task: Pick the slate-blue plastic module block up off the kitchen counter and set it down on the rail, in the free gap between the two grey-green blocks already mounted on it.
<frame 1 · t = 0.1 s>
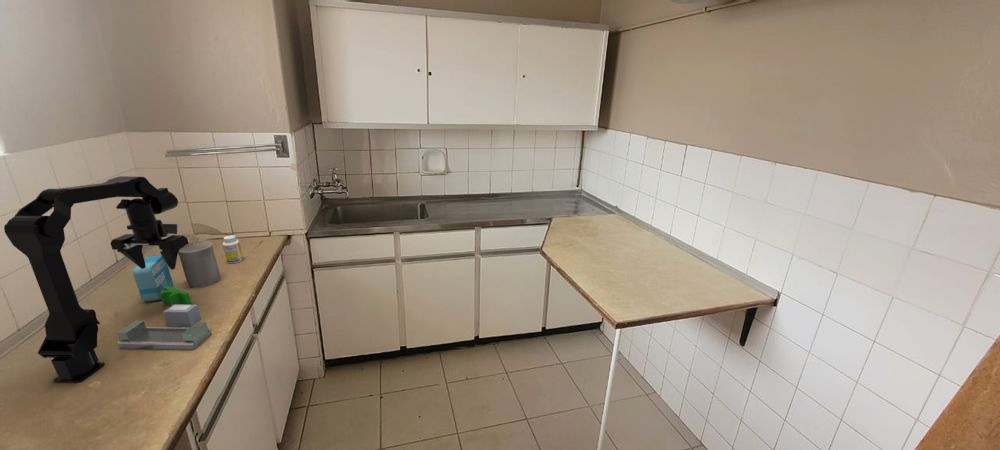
hand: (158, 268, 119), 15 cm above the kitchen counter, tool pointing down, fingers open, 9 cm apart
module: (184, 322, 118), on the kitchen counter
rail: (167, 341, 109), on the kitchen counter
pillar candle: (204, 281, 142), on the kitchen counter
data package: (159, 294, 133), on the kitchen counter
supplement bottle: (235, 261, 158), on the kitchen counter
pipe clamp: (175, 304, 128), on the kitchen counter
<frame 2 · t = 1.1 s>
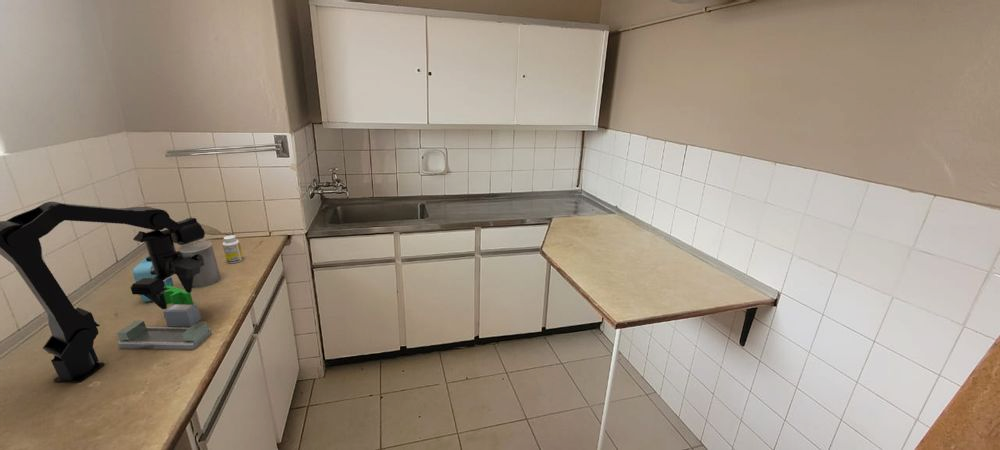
hand: (177, 300, 115), 8 cm above the kitchen counter, tool pointing down, fingers open, 9 cm apart
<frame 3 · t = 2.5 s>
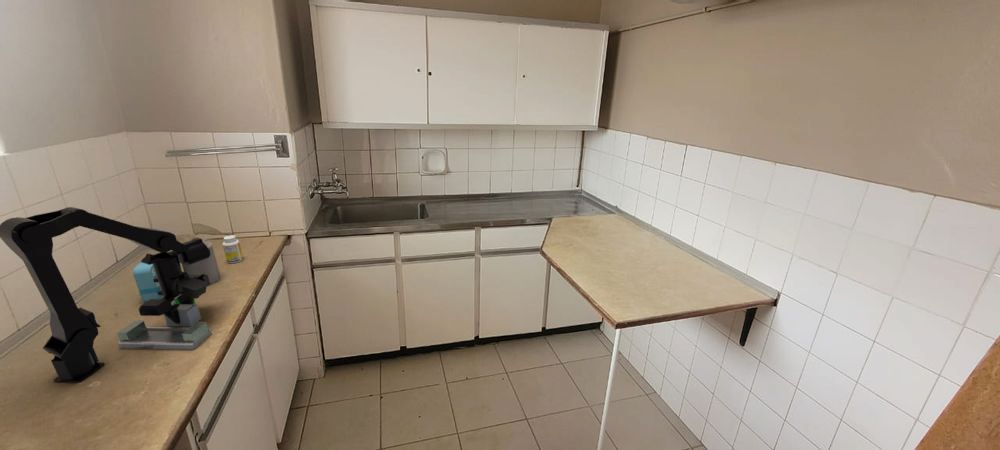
hand: (183, 319, 118), 1 cm above the kitchen counter, tool pointing down, fingers closed on module, 4 cm apart
module: (184, 322, 118), on the kitchen counter, touching gripper
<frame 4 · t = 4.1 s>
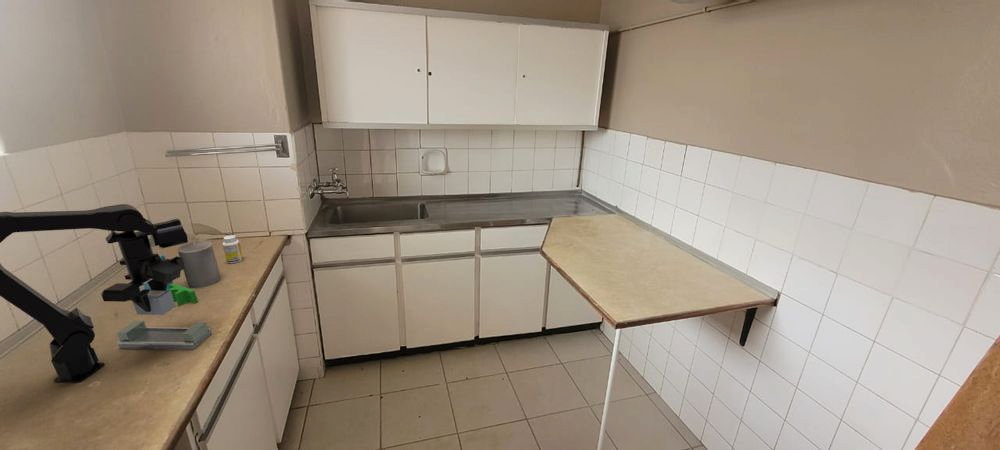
hand: (155, 307, 106), 11 cm above the kitchen counter, tool pointing down, fingers closed on module, 4 cm apart
module: (156, 310, 106), point 10 cm above the kitchen counter, touching gripper
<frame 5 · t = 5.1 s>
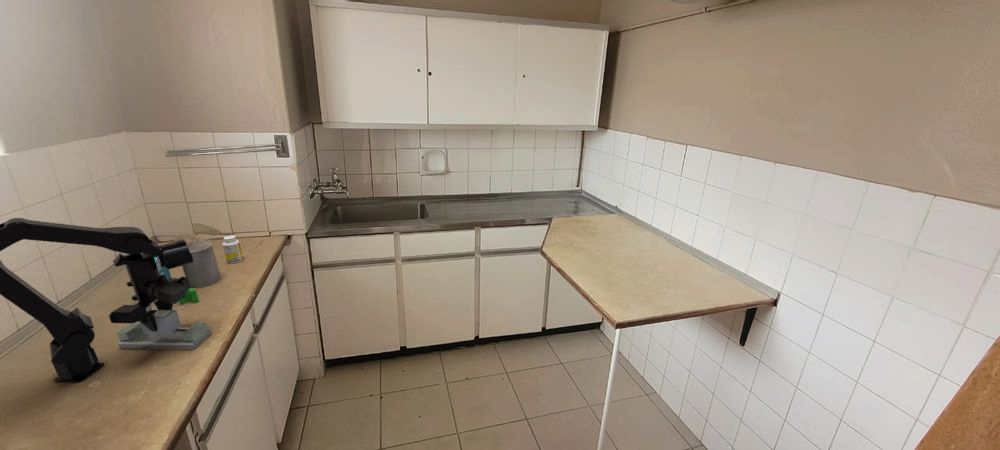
hand: (161, 326, 108), 5 cm above the kitchen counter, tool pointing down, fingers closed on module, 4 cm apart
module: (162, 329, 108), point 4 cm above the kitchen counter, touching gripper
when the fingers open (3 cm above the kitchen counter, at t = 5.7 s): module stays where it is, resting on rail.
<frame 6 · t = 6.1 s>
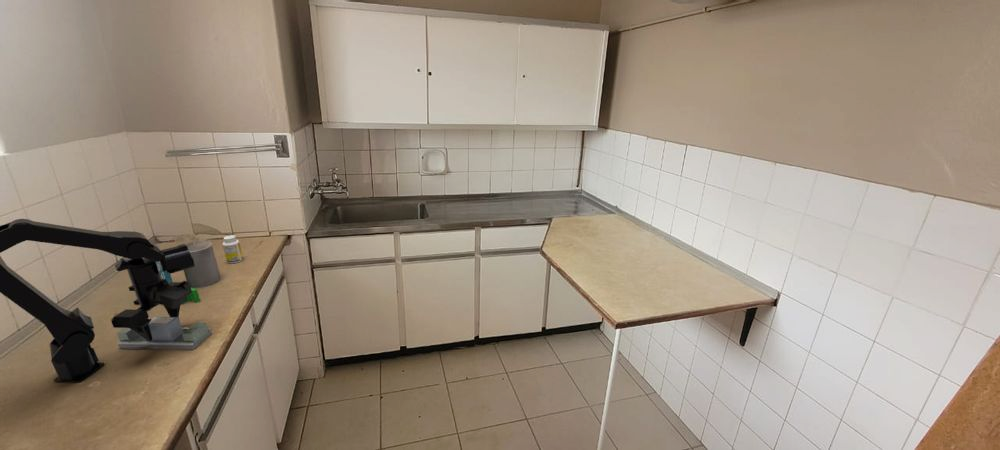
hand: (163, 330, 108), 3 cm above the kitchen counter, tool pointing down, fingers open, 8 cm apart
module: (165, 336, 109), point 1 cm above the kitchen counter, touching rail
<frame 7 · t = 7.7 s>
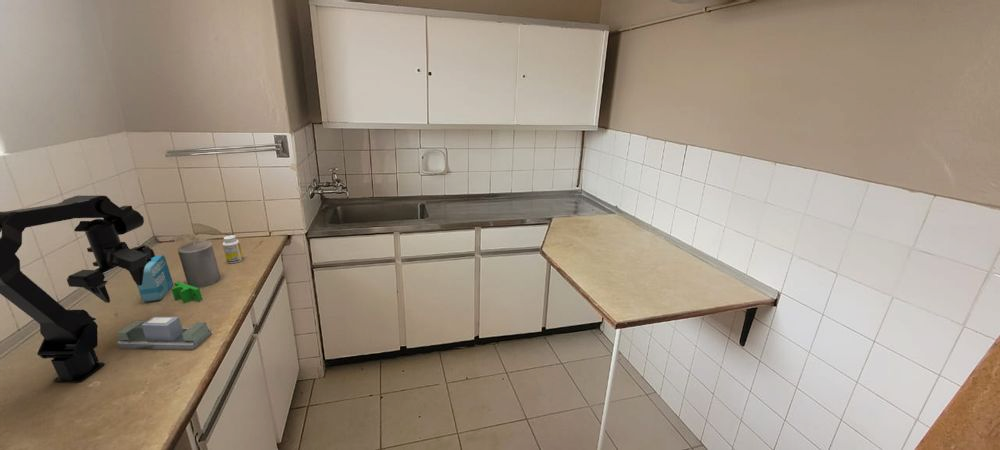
hand: (124, 293, 110), 12 cm above the kitchen counter, tool pointing down, fingers open, 9 cm apart
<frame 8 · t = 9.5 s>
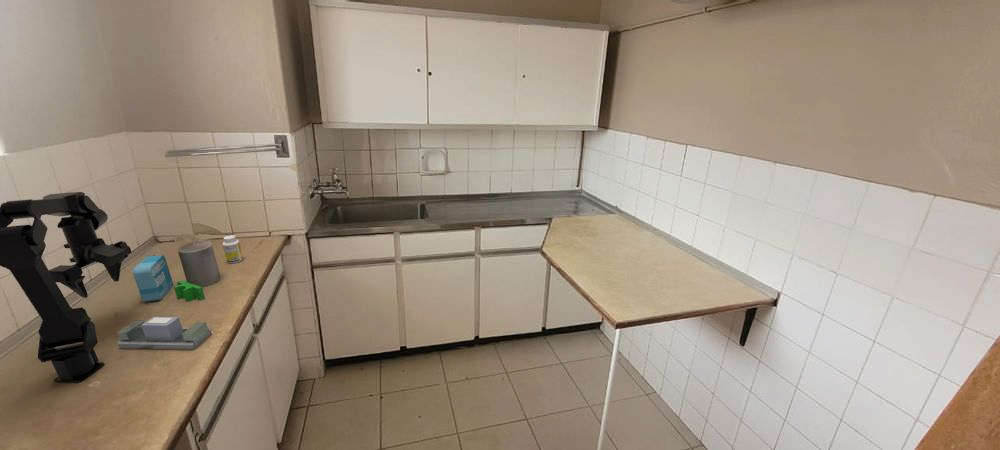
hand: (101, 289, 112), 12 cm above the kitchen counter, tool pointing down, fingers open, 9 cm apart
at the end: module inside the target area on the rail (0.0 cm from its centre), point 1.5 cm above the rail's base; module touching rail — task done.
